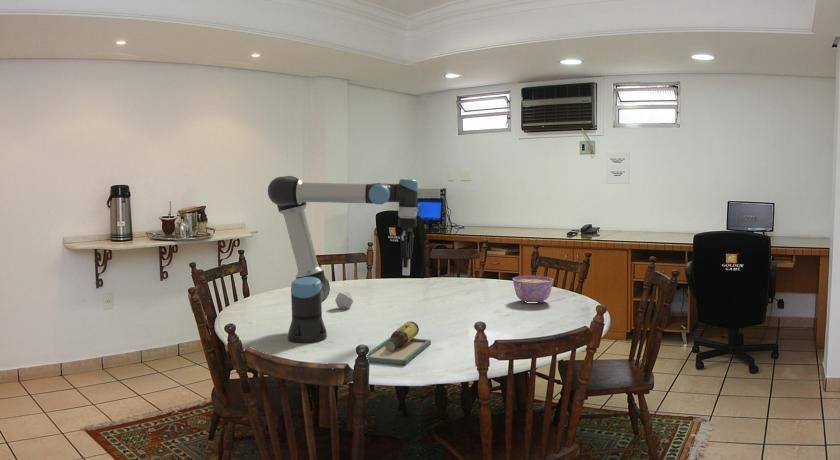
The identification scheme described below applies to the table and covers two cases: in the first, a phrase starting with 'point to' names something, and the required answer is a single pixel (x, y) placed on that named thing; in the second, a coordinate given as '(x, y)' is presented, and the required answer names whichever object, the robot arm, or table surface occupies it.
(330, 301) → the table surface
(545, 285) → the bowl of food
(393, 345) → the sauce bottle
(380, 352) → the teal tray
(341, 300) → the die
